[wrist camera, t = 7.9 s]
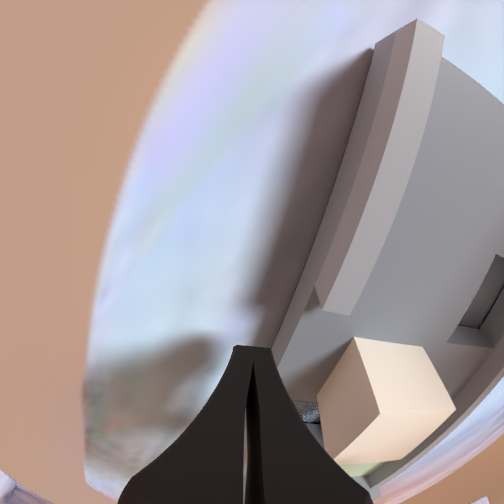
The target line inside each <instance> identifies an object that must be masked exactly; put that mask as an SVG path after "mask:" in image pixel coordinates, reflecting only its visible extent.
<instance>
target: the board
mask: <svg viewBox="0 0 504 504" xmlns="http://www.w3.org/2000/svg"><path fill="white" fill-rule="evenodd" d="M443 43H444V35H443V34H441V33H440V32H438V31H437V30H435V29H433V28H432V27H430V26H429V25H427V24H425V23H423V22H422V21H420V20H418V19H416V20H414V21H412V22H411V23H409V24H407V25H405V26H404V27H402V28H400V29H399V30H397V31H395V32H394V33H392V34H390V35H389V36H387V37H385V38H384V39H382V40H381V41H379V42H377V43H376V44H375V48H374V52H373V56H372V60H371V64H370V67H369V71H368V75H367V79H366V82H365V86H364V90H363V93H362V97H361V100H360V104H359V107H358V111H357V114H356V118H355V121H354V124H353V128H352V131H351V134H350V137H349V141H348V144H347V147H346V150H345V153H344V157H343V160H342V163H341V166H340V169H339V172H338V175H337V178H336V181H335V184H334V187H333V190H332V193H331V196H330V199H329V202H328V204H327V207H326V210H325V213H324V216H323V219H322V221H321V224H320V227H319V230H318V233H317V235H316V238H315V241H314V243H313V246H312V249H311V251H310V254H309V257H308V259H307V262H306V265H305V267H304V270H303V272H302V275H301V278H300V280H299V283H298V285H297V288H296V290H295V293H294V295H293V298H292V300H291V303H290V305H289V308H288V310H287V313H286V315H285V317H284V320H283V322H282V325H281V327H280V329H279V332H278V334H277V337H276V339H275V341H274V344H273V346H272V348H271V350H272V354H273V357H274V361H275V364H276V367H277V369H278V372H279V374H280V377H281V379H282V382H283V384H284V386H285V388H286V390H287V392H288V394H289V396H290V398H291V400H296V401H304V402H314V403H318V402H317V394H318V393H319V391H320V390H321V388H322V387H323V385H324V384H325V382H326V381H327V379H328V378H329V376H330V375H331V373H332V371H333V370H334V368H335V367H336V365H337V364H338V362H339V360H340V359H341V357H342V356H343V354H344V352H345V351H346V349H347V347H348V346H349V344H350V342H351V341H352V339H353V337H358V338H364V339H371V340H377V341H384V342H391V343H398V344H405V345H413V346H420V347H423V348H424V350H425V352H426V354H427V355H428V357H429V359H430V361H431V362H432V364H433V366H434V368H435V370H436V371H437V373H438V375H439V377H440V379H441V381H442V382H443V384H444V386H445V388H446V390H447V392H448V394H449V396H450V398H451V400H452V402H453V404H454V406H455V408H456V410H455V411H454V412H453V413H452V414H451V415H450V416H449V417H448V418H447V419H446V420H445V421H444V422H443V423H442V424H441V425H440V426H439V427H438V428H437V429H436V430H435V431H434V432H433V433H432V434H430V435H429V436H428V437H427V438H426V439H425V440H424V441H423V442H421V443H420V444H419V445H418V446H417V447H416V448H414V449H413V450H412V451H411V452H410V453H408V454H407V455H406V456H405V457H403V458H402V459H401V460H394V461H385V462H376V463H363V464H346V465H339V466H340V467H341V468H342V469H343V470H344V471H345V472H346V473H347V474H348V475H349V476H351V477H352V478H353V479H354V480H355V481H356V482H357V483H359V484H360V485H361V486H362V487H364V488H365V489H366V490H367V491H369V493H370V496H371V499H372V500H375V499H377V498H379V497H380V496H381V492H380V487H381V486H382V485H384V484H385V483H387V482H388V481H390V480H391V479H393V478H394V477H396V476H397V475H399V474H400V473H402V472H403V471H404V470H406V469H407V468H408V467H410V466H411V465H412V464H414V463H415V462H416V461H418V460H419V459H420V458H422V457H423V456H424V455H425V454H427V453H428V452H429V451H430V450H431V449H433V448H434V447H435V446H436V445H437V444H439V443H440V442H441V441H442V440H443V439H444V438H445V437H447V436H448V435H449V434H450V433H451V432H452V431H453V430H454V429H455V428H456V427H457V426H458V425H459V424H460V423H462V422H463V421H464V420H465V419H466V418H467V417H468V416H469V415H470V414H471V412H472V411H473V410H474V409H475V408H476V407H477V406H478V405H479V404H480V403H481V402H482V401H483V400H484V399H485V397H486V396H487V395H488V394H489V393H490V392H491V391H492V389H493V388H494V387H495V386H496V385H497V383H498V382H499V381H500V380H501V379H502V377H503V376H504V288H503V289H502V291H501V293H500V295H499V297H498V299H497V300H496V302H495V304H494V306H493V308H492V309H491V311H490V313H489V314H488V316H487V318H486V319H485V321H484V322H483V324H482V326H481V327H480V329H476V328H471V327H465V326H460V325H458V324H459V322H460V321H461V319H462V318H463V316H464V314H465V313H466V311H467V309H468V308H469V306H470V304H471V302H472V301H473V299H474V297H475V295H476V293H477V292H478V290H479V288H480V286H481V284H482V282H483V280H484V278H485V276H486V274H487V272H488V270H489V268H490V266H491V264H492V262H493V260H494V258H495V255H496V254H497V255H499V256H501V257H503V258H504V104H503V103H501V102H500V101H499V100H498V99H497V98H496V97H495V96H493V95H492V94H491V93H490V92H489V91H487V90H486V89H485V88H484V87H483V86H481V85H480V84H479V83H478V82H476V81H475V80H474V79H472V78H471V77H470V76H468V75H467V74H466V73H464V72H463V71H462V70H460V69H459V68H457V67H456V66H455V65H453V64H452V63H450V62H449V61H447V60H446V59H444V58H443V57H441V55H442V49H443ZM305 424H306V426H307V427H308V429H309V430H310V431H311V433H312V434H313V436H314V437H315V438H316V440H317V441H318V442H319V444H320V445H321V446H322V447H323V448H324V441H323V434H322V427H321V424H309V423H305ZM324 449H325V448H324ZM246 473H247V431H246V409H245V427H244V468H243V504H244V500H245V487H246Z"/></svg>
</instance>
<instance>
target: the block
mask: <svg viewBox="0 0 504 504" xmlns="http://www.w3.org/2000/svg"><path fill="white" fill-rule="evenodd" d="M317 402H318V408H319V414H320V421H321V427H322V434H323V441H324V448H325V451H326V452H327V453H328V454H329V455H330V456H331V457H332V458H333V460H334V461H335V462H336V463H337V464H338V465H346V464H363V463H376V462H385V461H394V460H401V459H402V458H403V457H405V456H406V455H407V454H408V453H410V452H411V451H412V450H413V449H414V448H416V447H417V446H418V445H419V444H420V443H421V442H423V441H424V440H425V439H426V438H427V437H428V436H429V435H430V434H432V433H433V432H434V431H435V430H436V429H437V428H438V427H439V426H440V425H441V424H442V423H443V422H444V421H445V420H446V419H447V418H448V417H449V416H450V415H451V414H452V413H453V412H454V411H455V410H456V408H455V406H454V404H453V402H452V400H451V398H450V396H449V394H448V392H447V390H446V388H445V386H444V384H443V382H442V381H441V379H440V377H439V375H438V373H437V371H436V370H435V368H434V366H433V364H432V362H431V361H430V359H429V357H428V355H427V354H426V352H425V350H424V348H423V347H420V346H413V345H405V344H398V343H391V342H384V341H377V340H371V339H364V338H358V337H353V339H352V341H351V342H350V344H349V346H348V347H347V349H346V351H345V352H344V354H343V356H342V357H341V359H340V360H339V362H338V364H337V365H336V367H335V368H334V370H333V371H332V373H331V375H330V376H329V378H328V379H327V381H326V382H325V384H324V385H323V387H322V388H321V390H320V391H319V393H318V394H317Z"/></svg>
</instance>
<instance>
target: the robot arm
mask: <svg viewBox="0 0 504 504" xmlns="http://www.w3.org/2000/svg"><path fill="white" fill-rule="evenodd" d="M245 409H246V431H247V473H246V487H245V500H244V504H373V501H372V499H371V496H370V493H369V491H367V490H366V489H365V488H364V487H362V486H361V485H360V484H359V483H357V482H356V481H355V480H354V479H353V478H352V477H351V476H349V475H348V474H347V473H346V472H345V471H344V470H343V469H342V468H341V467H340V466H339V465H338V464H337V463H336V462H335V461H334V460H333V458H332V457H331V456H330V455H329V454H328V453H327V452H326V451H325V449H324V448H323V447H322V446H321V445H320V444H319V442H318V441H317V440H316V438H315V437H314V436H313V434H312V433H311V431H310V430H309V429H308V427H307V426H306V424H305V423H304V421H303V420H302V418H301V416H300V415H299V413H298V411H297V409H296V408H295V406H294V404H293V402H292V400H291V398H290V396H289V394H288V392H287V390H286V388H285V386H284V384H283V382H282V379H281V377H280V374H279V372H278V369H277V367H276V364H275V361H274V357H273V354H272V350H271V349H270V348H261V347H251V346H242V345H236V346H234V347H233V352H232V355H231V358H230V361H229V363H228V365H227V368H226V370H225V372H224V374H223V376H222V378H221V380H220V382H219V383H218V385H217V387H216V389H215V390H214V392H213V393H212V395H211V397H210V398H209V400H208V401H207V403H206V404H205V406H204V407H203V409H202V410H201V411H200V413H199V414H198V415H197V417H196V418H195V419H194V420H193V422H192V423H191V424H190V425H189V426H188V427H187V429H186V430H185V431H184V432H183V433H182V434H181V435H180V436H179V438H178V439H177V440H176V441H175V442H174V443H173V444H172V445H171V446H169V447H168V448H167V449H166V450H165V451H164V452H163V453H162V454H161V455H160V456H159V457H157V458H156V459H155V460H154V461H153V462H152V463H150V464H149V465H148V466H146V467H145V468H144V469H142V470H141V471H140V472H138V473H137V474H136V475H134V476H133V477H132V478H131V479H130V481H129V482H128V483H127V485H126V486H125V488H124V490H123V491H122V493H121V495H120V498H119V500H118V504H243V468H244V427H245ZM0 504H54V503H52V502H50V501H48V500H46V499H44V498H43V497H41V496H39V495H37V494H36V493H34V492H32V491H30V490H29V489H27V488H26V487H24V486H22V485H21V484H19V483H18V482H16V480H15V479H13V478H12V477H11V476H10V475H8V474H7V473H5V472H4V471H3V470H1V469H0ZM470 504H489V502H488V499H487V496H483V497H481V498H480V499H478V500H476V501H474V502H472V503H470Z"/></svg>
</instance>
